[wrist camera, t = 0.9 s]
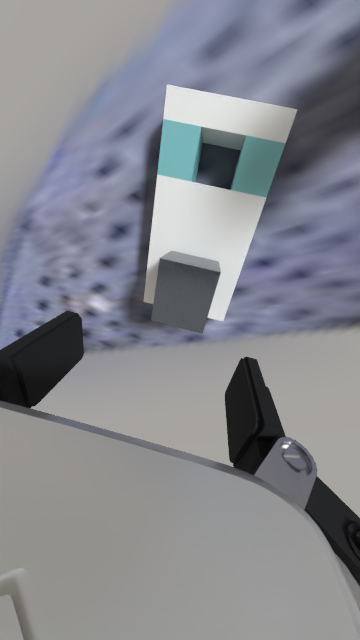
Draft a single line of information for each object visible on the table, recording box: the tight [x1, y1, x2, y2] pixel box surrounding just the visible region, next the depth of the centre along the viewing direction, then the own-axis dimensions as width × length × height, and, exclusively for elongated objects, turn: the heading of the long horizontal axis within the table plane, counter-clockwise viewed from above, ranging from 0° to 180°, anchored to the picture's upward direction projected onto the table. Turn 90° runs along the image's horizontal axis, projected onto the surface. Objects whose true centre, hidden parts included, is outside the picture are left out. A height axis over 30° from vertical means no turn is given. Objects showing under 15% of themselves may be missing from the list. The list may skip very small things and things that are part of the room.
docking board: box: [143, 85, 298, 321], centre depth 24 cm, size 22×12×4 cm, turn 169°
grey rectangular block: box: [151, 251, 221, 333], centre depth 24 cm, size 6×7×10 cm
